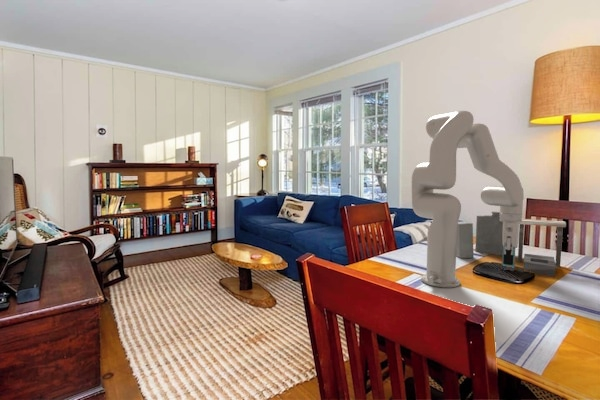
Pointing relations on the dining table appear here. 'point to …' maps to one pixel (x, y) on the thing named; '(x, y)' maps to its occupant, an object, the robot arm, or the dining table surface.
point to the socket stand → (539, 262)
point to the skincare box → (464, 240)
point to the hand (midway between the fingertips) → (508, 262)
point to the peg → (513, 257)
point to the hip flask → (489, 234)
